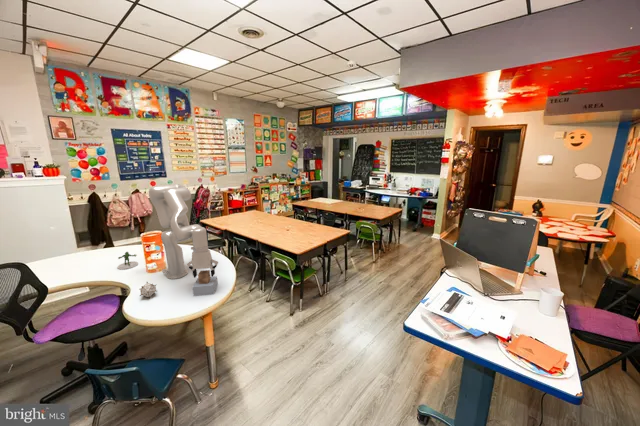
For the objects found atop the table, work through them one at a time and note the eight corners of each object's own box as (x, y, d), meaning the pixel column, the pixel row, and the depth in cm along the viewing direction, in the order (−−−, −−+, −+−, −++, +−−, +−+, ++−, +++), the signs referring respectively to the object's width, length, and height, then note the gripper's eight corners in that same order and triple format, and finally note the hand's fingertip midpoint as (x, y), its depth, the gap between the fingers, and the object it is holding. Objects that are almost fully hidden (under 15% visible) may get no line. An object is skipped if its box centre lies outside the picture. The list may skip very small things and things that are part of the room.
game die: (148, 300, 144) (146, 284, 147) (162, 295, 144) (159, 278, 147) (136, 302, 136) (133, 284, 139) (150, 296, 136) (147, 278, 139)
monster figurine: (139, 261, 188) (137, 248, 185) (136, 267, 177) (133, 254, 175) (120, 264, 183) (117, 251, 180) (115, 271, 172) (112, 257, 170)
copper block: (199, 284, 145) (197, 274, 143) (201, 279, 149) (200, 270, 148) (208, 283, 145) (206, 274, 144) (210, 279, 150) (209, 270, 149)
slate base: (193, 296, 143) (192, 287, 141) (199, 286, 153) (197, 277, 152) (213, 294, 145) (212, 285, 143) (217, 285, 155) (216, 276, 154)
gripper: (182, 252, 138) (186, 280, 142) (214, 250, 140) (217, 278, 144) (187, 246, 145) (191, 273, 149) (218, 245, 147) (221, 272, 151)
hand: (204, 275), depth 147 cm, fingers open, 9 cm apart
